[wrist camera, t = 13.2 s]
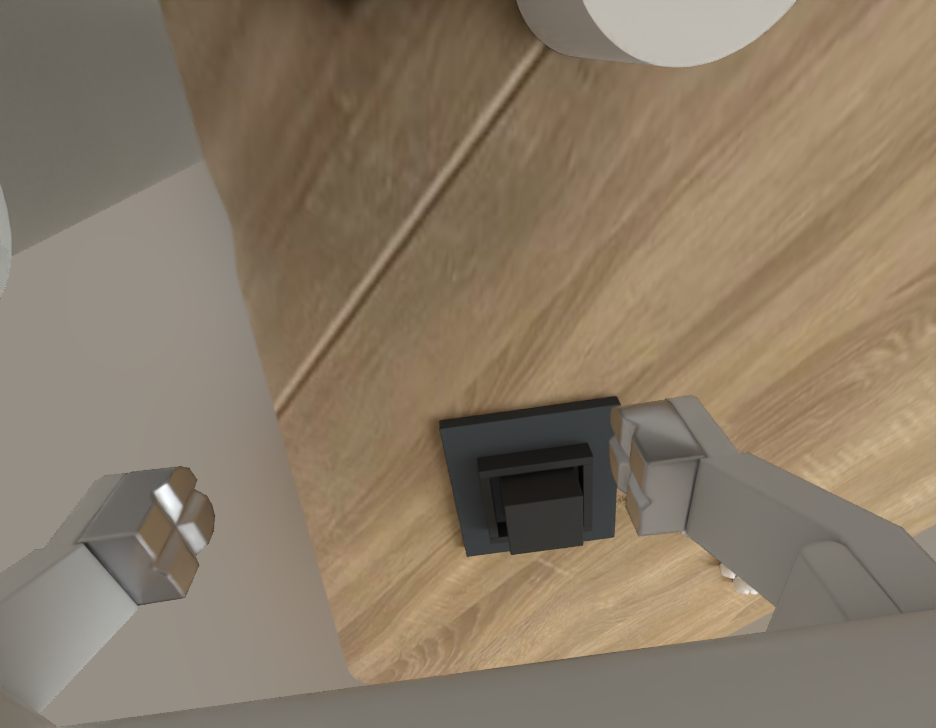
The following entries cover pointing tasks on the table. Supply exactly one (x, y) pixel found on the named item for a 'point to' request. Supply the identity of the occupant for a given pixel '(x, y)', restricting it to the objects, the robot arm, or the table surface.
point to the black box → (543, 510)
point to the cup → (651, 28)
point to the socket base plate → (529, 465)
